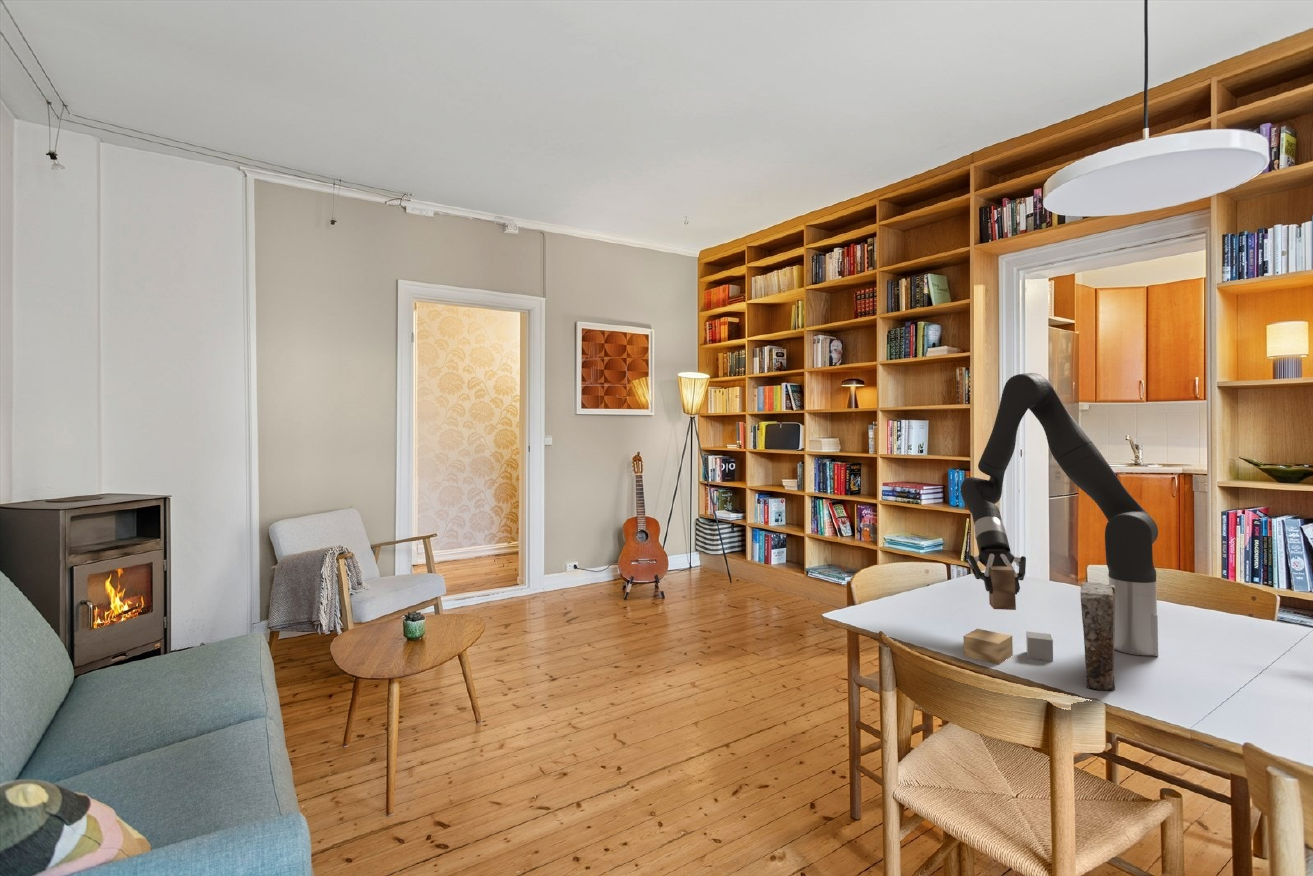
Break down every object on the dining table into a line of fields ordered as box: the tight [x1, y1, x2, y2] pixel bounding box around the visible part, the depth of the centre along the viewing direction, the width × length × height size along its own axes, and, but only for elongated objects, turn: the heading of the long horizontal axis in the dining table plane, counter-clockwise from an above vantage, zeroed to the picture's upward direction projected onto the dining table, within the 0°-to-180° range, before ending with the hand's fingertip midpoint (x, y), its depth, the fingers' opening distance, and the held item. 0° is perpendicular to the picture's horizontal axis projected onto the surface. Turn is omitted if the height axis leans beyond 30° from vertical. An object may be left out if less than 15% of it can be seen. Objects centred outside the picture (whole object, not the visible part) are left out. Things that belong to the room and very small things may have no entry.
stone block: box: [1080, 581, 1116, 691], centre depth 135 cm, size 13×7×20 cm, turn 149°
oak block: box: [962, 628, 1014, 665], centre depth 151 cm, size 8×8×5 cm
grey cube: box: [1025, 630, 1054, 662], centre depth 150 cm, size 5×5×5 cm
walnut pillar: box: [988, 566, 1017, 611], centre depth 162 cm, size 5×5×10 cm
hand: (1003, 592), depth 160 cm, fingers closed on walnut pillar, 5 cm apart
